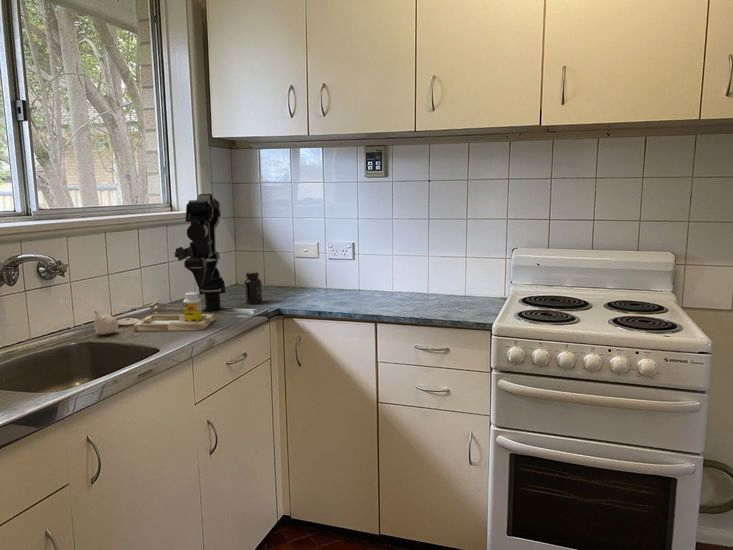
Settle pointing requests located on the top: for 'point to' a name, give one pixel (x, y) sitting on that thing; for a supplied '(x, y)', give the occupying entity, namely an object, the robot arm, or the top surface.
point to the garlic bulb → (105, 324)
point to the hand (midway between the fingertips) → (204, 284)
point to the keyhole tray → (171, 323)
